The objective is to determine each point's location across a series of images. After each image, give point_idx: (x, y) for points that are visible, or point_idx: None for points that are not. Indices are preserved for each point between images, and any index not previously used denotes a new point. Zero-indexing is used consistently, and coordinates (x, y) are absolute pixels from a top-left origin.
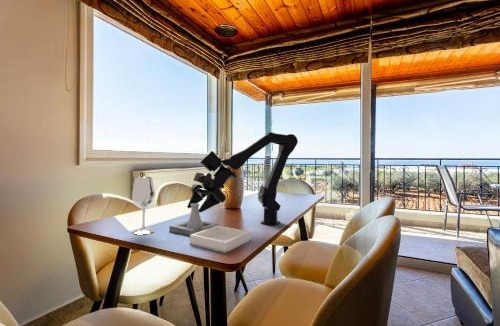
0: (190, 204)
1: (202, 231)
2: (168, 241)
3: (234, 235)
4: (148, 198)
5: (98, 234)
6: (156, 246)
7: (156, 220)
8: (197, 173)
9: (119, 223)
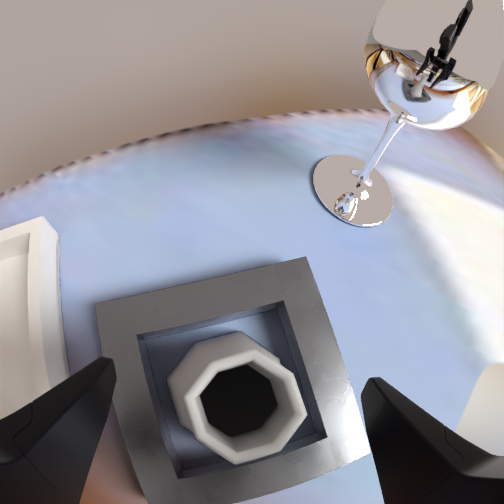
0: (381, 411)
1: (30, 289)
2: (152, 195)
3: None
4: (372, 49)
5: (378, 111)
6: (139, 149)
7: (490, 307)
8: None
9: (476, 194)
